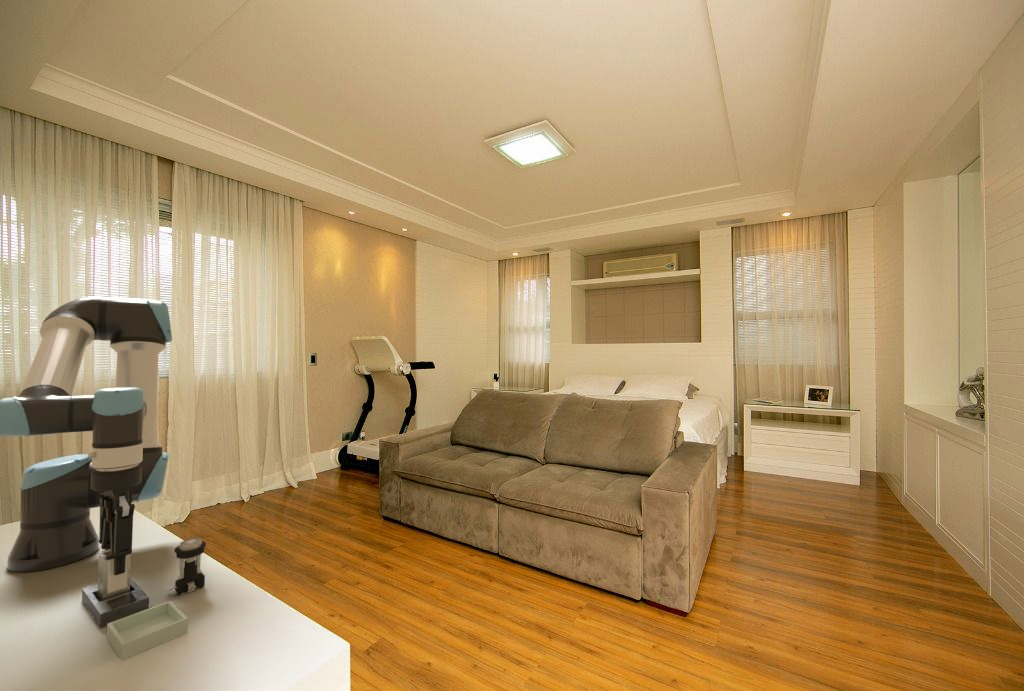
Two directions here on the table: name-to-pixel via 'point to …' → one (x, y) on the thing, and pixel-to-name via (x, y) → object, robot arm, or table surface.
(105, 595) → the block
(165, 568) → the table surface
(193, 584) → the push button
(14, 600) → the table surface
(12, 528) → the table surface
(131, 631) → the parts tray
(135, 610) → the dark gray slotted holder
